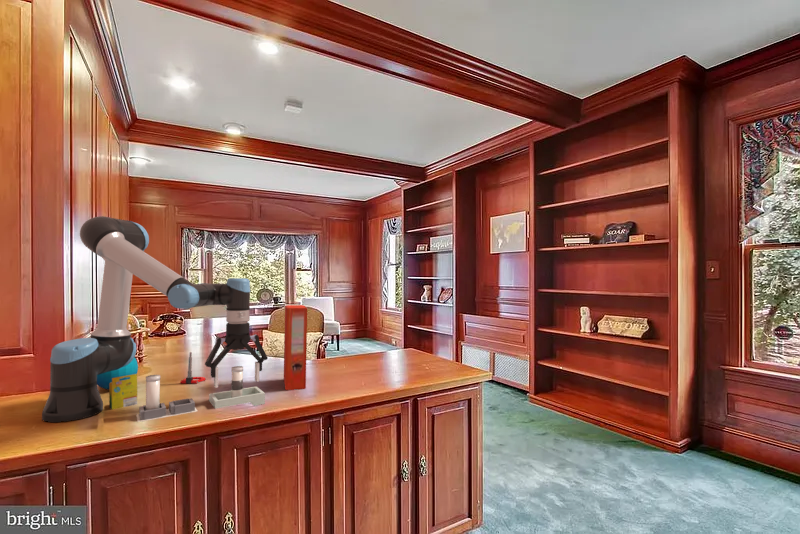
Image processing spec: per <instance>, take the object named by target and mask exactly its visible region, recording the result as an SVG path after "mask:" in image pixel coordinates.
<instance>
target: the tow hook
mask: <svg viewBox="0 0 800 534" xmlns="http://www.w3.org/2000/svg"><path fill="white" fill-rule="evenodd" d="M188 356H189V357H188V365H187V367H188V369H187V376H186V377H185V378H183V379H181V380H180V384H183V385H184V384H185V385H193V384H194V385H195V384H196V385H197V384H198V383H200V382H205V380H206V377H204V376H192V372H193V371H192V366H193V365H192V364H193V357H192V352H191V351H190V352H189V355H188Z"/></svg>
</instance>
